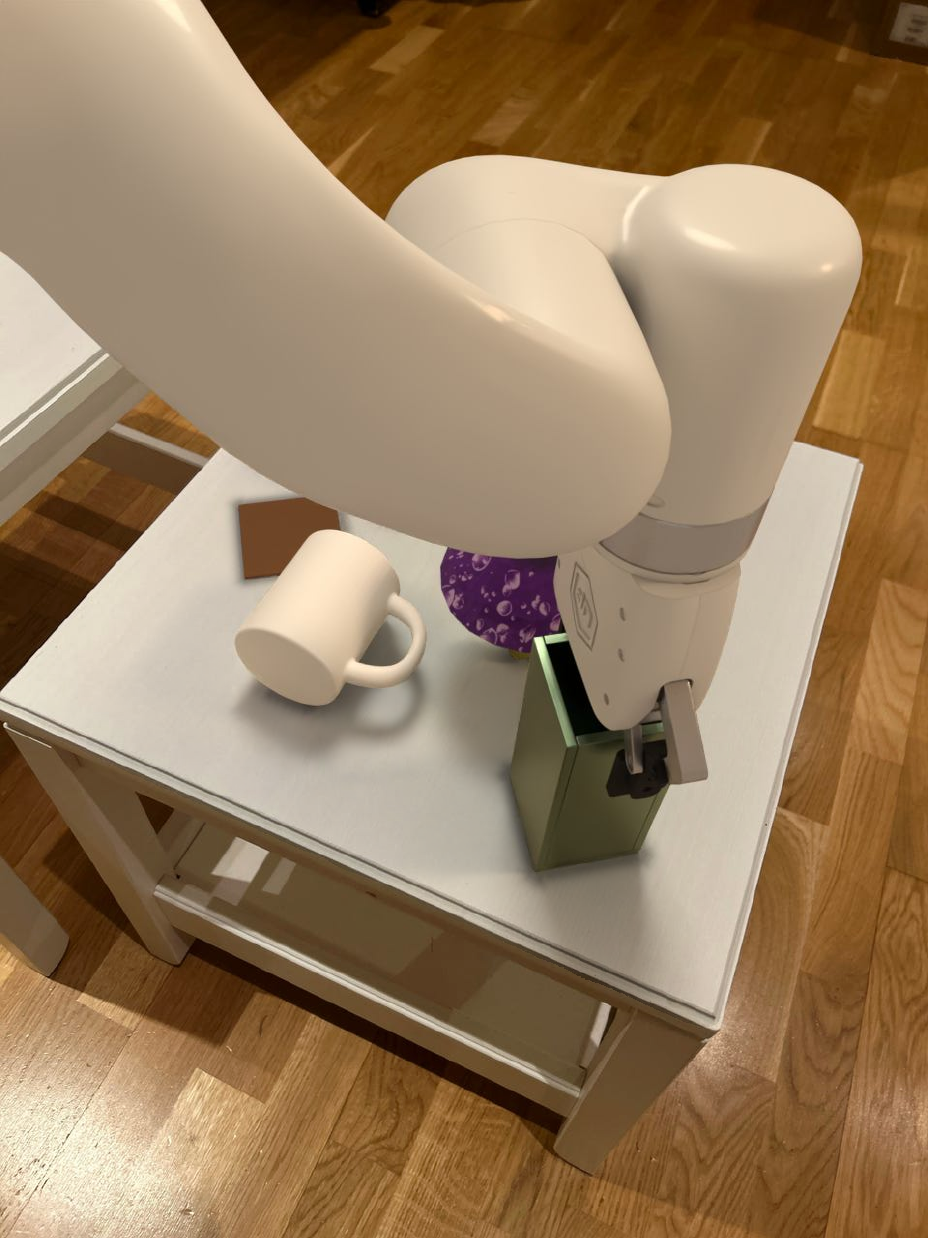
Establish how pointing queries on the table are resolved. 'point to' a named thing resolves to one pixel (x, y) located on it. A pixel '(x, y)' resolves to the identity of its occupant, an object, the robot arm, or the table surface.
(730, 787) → the table surface
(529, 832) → the box
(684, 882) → the table surface
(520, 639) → the decorative mushroom
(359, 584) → the mug
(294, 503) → the coaster
